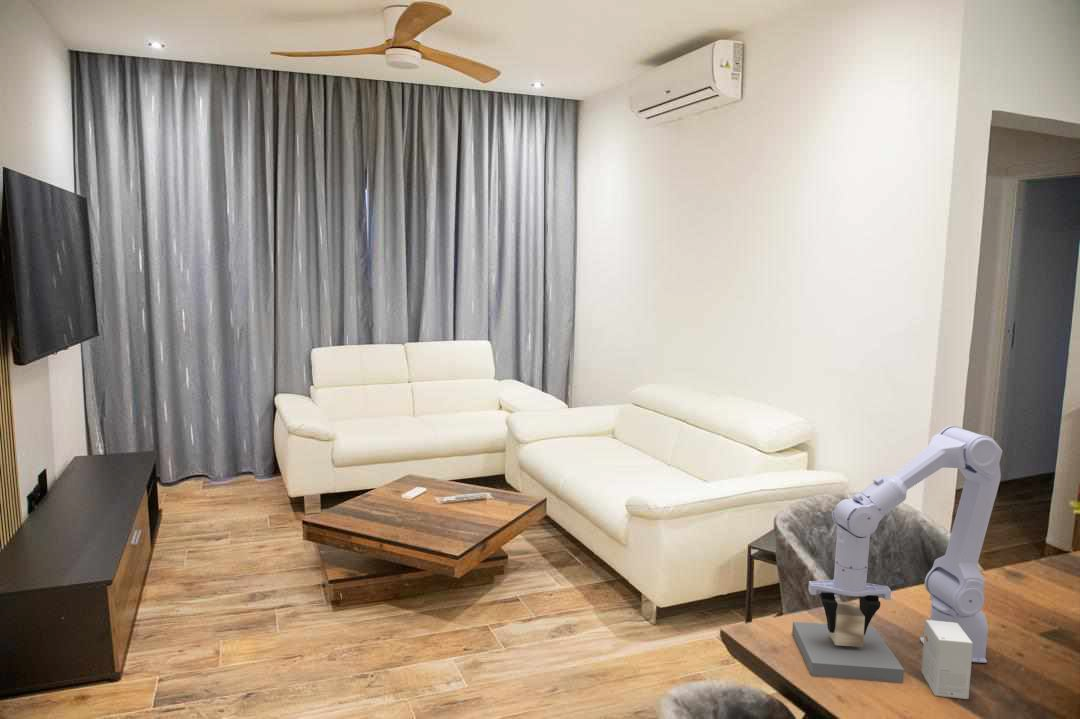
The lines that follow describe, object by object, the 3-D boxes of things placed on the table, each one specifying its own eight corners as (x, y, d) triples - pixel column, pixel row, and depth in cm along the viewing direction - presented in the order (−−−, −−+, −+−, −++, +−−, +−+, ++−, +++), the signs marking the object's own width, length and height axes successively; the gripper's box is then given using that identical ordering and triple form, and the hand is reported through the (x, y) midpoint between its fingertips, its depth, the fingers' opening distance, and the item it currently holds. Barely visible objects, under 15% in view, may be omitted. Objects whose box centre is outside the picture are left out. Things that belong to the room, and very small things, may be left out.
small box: (968, 700, 130) (974, 643, 128) (933, 696, 131) (939, 639, 130) (953, 676, 138) (958, 621, 136) (920, 672, 139) (925, 618, 137)
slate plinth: (873, 639, 151) (874, 627, 150) (903, 682, 135) (904, 669, 135) (792, 633, 152) (793, 621, 152) (811, 675, 137) (812, 662, 136)
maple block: (854, 634, 146) (856, 605, 145) (862, 647, 141) (864, 616, 140) (828, 632, 146) (830, 603, 146) (835, 645, 141) (837, 614, 141)
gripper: (883, 557, 145) (878, 624, 146) (806, 553, 146) (802, 618, 148) (897, 572, 138) (891, 641, 139) (815, 567, 139) (810, 636, 141)
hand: (846, 631), depth 143 cm, fingers open, 5 cm apart
